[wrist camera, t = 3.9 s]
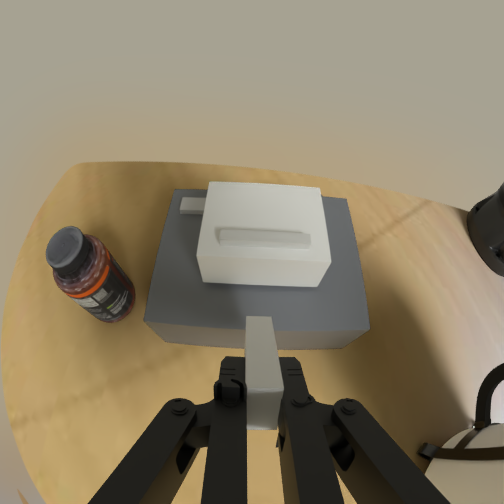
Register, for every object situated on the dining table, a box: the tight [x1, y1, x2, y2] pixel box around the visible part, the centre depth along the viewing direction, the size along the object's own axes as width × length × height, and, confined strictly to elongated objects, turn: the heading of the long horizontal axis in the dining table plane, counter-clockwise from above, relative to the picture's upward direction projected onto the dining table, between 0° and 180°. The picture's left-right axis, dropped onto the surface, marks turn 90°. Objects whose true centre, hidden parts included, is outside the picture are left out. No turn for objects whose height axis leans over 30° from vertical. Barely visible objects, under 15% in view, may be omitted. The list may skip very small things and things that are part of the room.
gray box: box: [144, 189, 370, 350], centre depth 27 cm, size 18×16×8 cm
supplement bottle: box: [46, 226, 135, 323], centre depth 23 cm, size 6×6×11 cm
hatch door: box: [196, 181, 331, 287], centre depth 21 cm, size 9×7×5 cm
